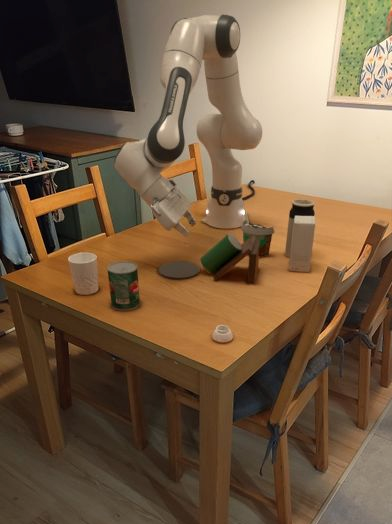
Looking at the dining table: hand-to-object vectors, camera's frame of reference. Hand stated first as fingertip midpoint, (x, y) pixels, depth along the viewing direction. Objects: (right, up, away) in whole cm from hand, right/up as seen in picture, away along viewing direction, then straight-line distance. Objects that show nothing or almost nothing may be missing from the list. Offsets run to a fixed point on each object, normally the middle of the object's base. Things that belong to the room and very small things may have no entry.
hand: (191, 229), depth 140 cm
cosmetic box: (+34, -10, +10) cm, 37 cm away
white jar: (+8, -34, -26) cm, 43 cm away
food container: (+20, -4, +19) cm, 28 cm away
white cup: (-31, -19, -4) cm, 36 cm away
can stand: (+14, -13, +5) cm, 20 cm away
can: (+9, -7, +2) cm, 11 cm away
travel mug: (+36, -4, +18) cm, 40 cm away
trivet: (-4, -11, +7) cm, 14 cm away
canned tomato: (-18, -24, -12) cm, 32 cm away
